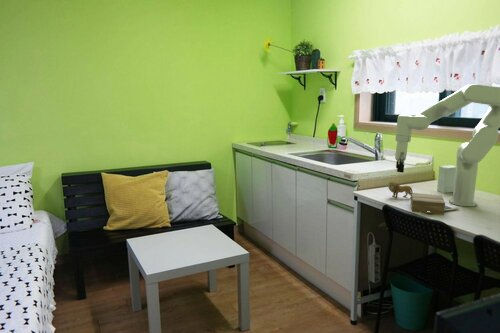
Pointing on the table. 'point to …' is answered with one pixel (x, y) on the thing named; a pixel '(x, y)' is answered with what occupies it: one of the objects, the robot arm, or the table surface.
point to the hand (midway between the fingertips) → (399, 170)
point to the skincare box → (446, 178)
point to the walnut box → (427, 203)
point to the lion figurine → (399, 189)
